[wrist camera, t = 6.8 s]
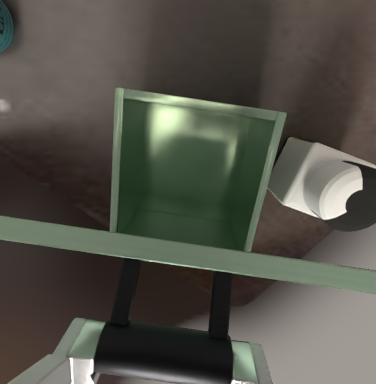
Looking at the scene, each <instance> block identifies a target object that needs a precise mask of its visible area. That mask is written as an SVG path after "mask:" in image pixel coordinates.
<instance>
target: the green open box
mask: <svg viewBox="0 0 376 384" xmlns="http://www.w3.org/2000/svg"><path fill="white" fill-rule="evenodd" d="M286 115H287V113H286V112H280V111H273V110H267V109H260V108H253V107H247V106H240V105H233V104H227V103H220V102H213V101H207V100H200V99H193V98H187V97H180V96H173V95H167V94H160V93H154V92H147V91H140V90H134V89H127V88H120V87H115V103H114V130H113V158H112V185H111V213H110V232H116V233H122V234H129V235H136V236H143V237H150V238H157V239H163V240H170V241H177V242H184V243H191V244H198V245H204V246H211V247H218V248H225V249H232V250H239V251H246V252H250V251H251V247H252V244H253V240H254V236H255V232H256V229H257V225H258V221H259V217H260V214H261V210H262V206H263V202H264V198H265V195H266V191H267V187H268V183H269V180H270V176H271V172H272V168H273V164H274V161H275V157H276V153H277V149H278V146H279V142H280V138H281V134H282V131H283V127H284V123H285V119H286Z"/></svg>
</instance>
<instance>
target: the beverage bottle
mask: <svg viewBox="0 0 376 384" xmlns="http://www.w3.org/2000/svg"><path fill="white" fill-rule="evenodd" d="M13 35H14V25H13V20H12V17H11V14H10V12H9V10H8V8H7V7H6V5H5V4H4V3H3V1H2V0H0V52H1V51H3V50H5V49H6V48H7V47H8V46H9V45H10V44H11V42H12V39H13Z"/></svg>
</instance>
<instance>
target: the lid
mask: <svg viewBox="0 0 376 384" xmlns="http://www.w3.org/2000/svg"><path fill="white" fill-rule="evenodd" d="M0 239H1V240H8V241H15V242H22V243H28V244H35V245H42V246H49V247H56V248H63V249H70V250H77V251H83V252H91V253H98V254H105V255H111V256H118V257H125V258H123V262H122V267H121V271H120V276H119V280H118V285H117V289H116V294H115V299H114V303H113V308H112V313H111V317H110V318H109V319H108V320H107V321H106V323H105V325H104V327H103V329H102V331H101V334H100V337H99V340H98V343H97V347H96V351H95V358H94V371H95V372H97V373H104V374H111V375H118V376H125V377H132V378H140V379H146V380H154V381H161V382H167V383H175V384H231V381H232V375H233V348H232V342H231V339H230V336H229V335H228V329H229V315H230V302H231V289H232V275H233V274H232V273H235V274H241V275H248V276H255V277H262V278H269V279H276V280H283V281H290V282H296V283H303V284H311V285H317V286H324V287H331V288H338V289H346V290H352V291H358V292H365V293H373V294H376V270H369V269H361V268H354V267H348V266H341V265H334V264H327V263H320V262H314V261H307V260H300V259H293V258H287V257H280V256H273V255H266V254H259V253H252V252H246V251H239V250H232V249H225V248H218V247H211V246H204V245H198V244H191V243H184V242H177V241H170V240H163V239H157V238H150V237H143V236H136V235H129V234H122V233H116V232H108V231H102V230H95V229H88V228H81V227H74V226H68V225H61V224H54V223H47V222H39V221H33V220H27V219H20V218H13V217H6V216H0ZM141 260H145V261H152V262H159V263H166V264H173V265H180V266H186V267H193V268H200V269H207V270H214V278H213V288H212V299H211V309H210V319H209V329H208V331H201V330H193V329H187V328H180V327H173V326H166V325H159V324H152V323H145V322H138V321H131V320H130V317H131V312H132V306H133V301H134V296H135V291H136V285H137V280H138V275H139V270H140V265H141Z"/></svg>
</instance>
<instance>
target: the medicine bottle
mask: <svg viewBox="0 0 376 384" xmlns="http://www.w3.org/2000/svg"><path fill="white" fill-rule="evenodd" d="M267 188H268V189H269V191H270V192H271V193H272V194H273V195H274V196H275V197H276V198H277V199H278V200H279V201H280V202H281V203H282V204H283V205H285V206H288V207H291V208H293V209H296V210H299V211H301V212H304V213H307V214H310V215H312V216H315V217H318V218H320V219H321V220H323V221H324V222H325V223H326V224H327V225H329V226H330V227H332V228H334V229H336V230H339V231H345V232H352V231H358V230H361V229H364V228H367V227H369V226H371V225H373V224H375V223H376V166H375V165H374V164H371V163H369V162H366V161H364V160H361V159H359V158H356V157H353V156H351V155H348V154H346V153H343V152H341V151H338V150H336V149H333V148H330V147H328V146H325V145H323V144H320V143H318V142H313V141H309V140H304V139H300V138H295V137H289V138H288V140H287V142H286V144H285V146H284V148H283V150H282V152H281V154H280V156H279V158H278V160H277V162H276V164H275V166H274V168H273V170H272V172H271V176H270V180H269V183H268V187H267Z"/></svg>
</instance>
